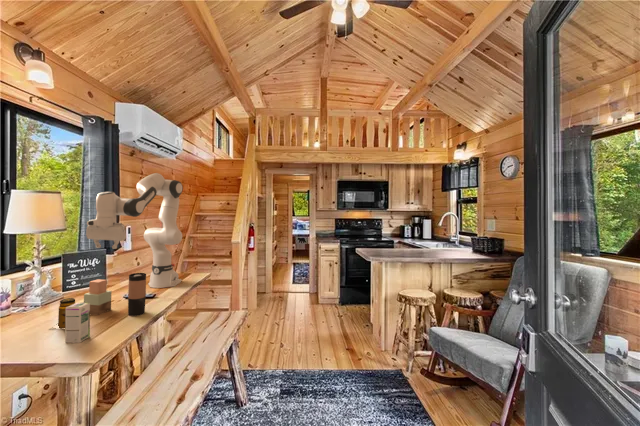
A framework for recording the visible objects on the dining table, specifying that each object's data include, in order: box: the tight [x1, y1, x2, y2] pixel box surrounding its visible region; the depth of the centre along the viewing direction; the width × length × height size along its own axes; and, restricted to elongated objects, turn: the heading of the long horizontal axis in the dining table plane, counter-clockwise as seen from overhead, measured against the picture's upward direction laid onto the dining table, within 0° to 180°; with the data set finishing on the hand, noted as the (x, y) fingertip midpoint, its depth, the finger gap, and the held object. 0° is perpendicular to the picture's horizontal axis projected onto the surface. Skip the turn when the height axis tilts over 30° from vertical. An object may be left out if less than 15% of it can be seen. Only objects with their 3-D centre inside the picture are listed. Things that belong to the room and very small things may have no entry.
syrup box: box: [64, 301, 91, 344], centre depth 123 cm, size 6×6×14 cm
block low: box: [90, 300, 112, 316], centre depth 154 cm, size 8×8×5 cm
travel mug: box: [127, 272, 147, 317], centre depth 153 cm, size 8×8×20 cm
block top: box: [83, 290, 112, 305], centre depth 154 cm, size 8×8×5 cm
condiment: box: [49, 297, 76, 330], centre depth 135 cm, size 7×8×12 cm
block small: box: [88, 278, 108, 294], centre depth 154 cm, size 5×5×6 cm
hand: (106, 248), depth 161 cm, fingers open, 8 cm apart
